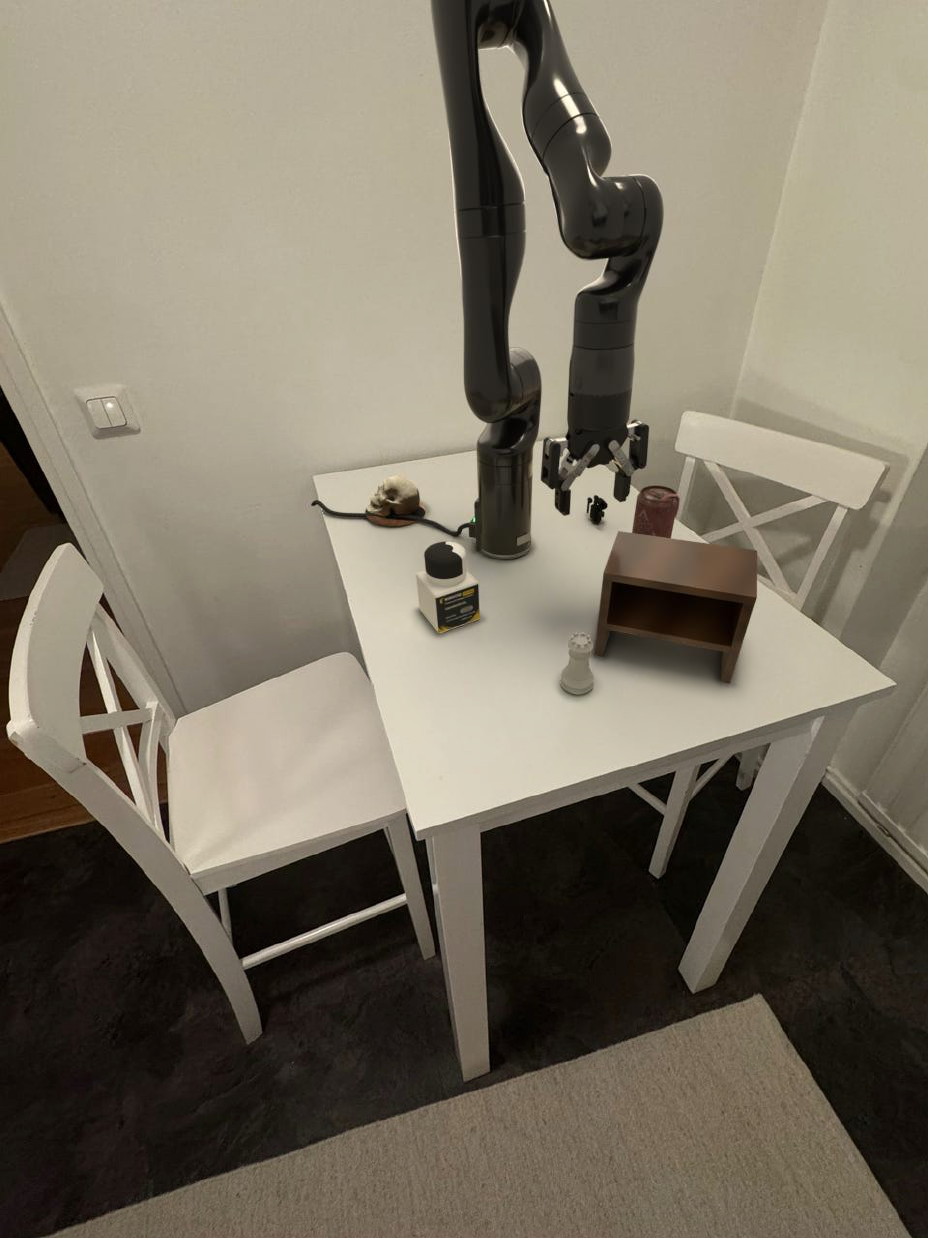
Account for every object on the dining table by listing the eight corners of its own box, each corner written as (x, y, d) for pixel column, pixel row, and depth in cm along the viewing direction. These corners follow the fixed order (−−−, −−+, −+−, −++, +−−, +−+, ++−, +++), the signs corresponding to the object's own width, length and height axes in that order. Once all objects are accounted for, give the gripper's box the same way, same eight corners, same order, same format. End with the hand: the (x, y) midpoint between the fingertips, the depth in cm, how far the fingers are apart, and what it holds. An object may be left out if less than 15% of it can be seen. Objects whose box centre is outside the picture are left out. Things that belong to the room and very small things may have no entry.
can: (667, 580, 99) (682, 502, 90) (627, 577, 100) (638, 500, 91) (665, 560, 103) (679, 484, 95) (627, 557, 105) (637, 482, 96)
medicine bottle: (438, 634, 90) (432, 567, 83) (419, 610, 95) (411, 544, 88) (480, 619, 93) (478, 553, 85) (459, 596, 98) (455, 531, 90)
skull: (356, 524, 116) (358, 472, 117) (372, 536, 126) (374, 488, 127) (417, 524, 114) (419, 471, 115) (428, 535, 124) (430, 487, 125)
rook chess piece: (585, 700, 78) (590, 654, 73) (554, 688, 80) (557, 642, 75) (598, 679, 81) (604, 633, 76) (568, 668, 83) (571, 623, 78)
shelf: (593, 655, 85) (603, 572, 76) (608, 610, 93) (618, 530, 84) (730, 683, 80) (757, 597, 71) (732, 632, 88) (757, 550, 79)
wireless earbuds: (584, 513, 118) (586, 489, 115) (596, 511, 118) (598, 487, 115) (598, 530, 112) (601, 506, 109) (611, 528, 113) (614, 504, 110)
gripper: (634, 366, 77) (622, 485, 86) (532, 384, 73) (532, 506, 83) (670, 381, 71) (653, 506, 81) (561, 401, 67) (557, 529, 77)
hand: (591, 506), depth 82 cm, fingers open, 8 cm apart
